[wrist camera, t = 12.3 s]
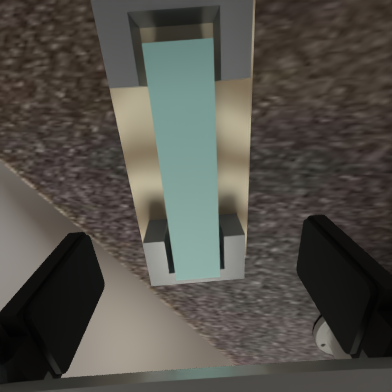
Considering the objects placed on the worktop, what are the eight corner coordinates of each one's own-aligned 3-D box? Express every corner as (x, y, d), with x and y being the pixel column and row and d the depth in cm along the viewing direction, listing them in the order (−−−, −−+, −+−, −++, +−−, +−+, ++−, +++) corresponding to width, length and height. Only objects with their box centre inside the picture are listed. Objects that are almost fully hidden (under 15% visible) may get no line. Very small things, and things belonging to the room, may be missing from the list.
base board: (243, 247, 28) (245, 255, 27) (148, 255, 28) (146, 263, 27) (250, -7, 18) (255, -15, 16) (97, 4, 17) (90, -3, 16)
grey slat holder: (236, 253, 27) (243, 278, 23) (156, 259, 27) (151, 286, 23) (239, -5, 16) (254, -31, 13) (108, 5, 16) (86, -19, 13)
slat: (213, 237, 26) (220, 277, 20) (178, 240, 26) (176, 280, 20) (204, 53, 18) (213, 37, 12) (155, 57, 18) (141, 43, 12)
